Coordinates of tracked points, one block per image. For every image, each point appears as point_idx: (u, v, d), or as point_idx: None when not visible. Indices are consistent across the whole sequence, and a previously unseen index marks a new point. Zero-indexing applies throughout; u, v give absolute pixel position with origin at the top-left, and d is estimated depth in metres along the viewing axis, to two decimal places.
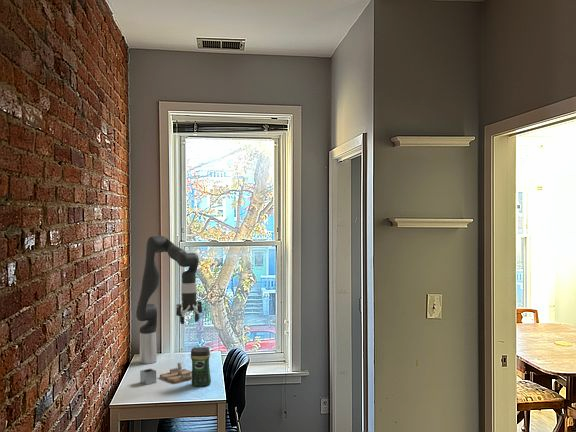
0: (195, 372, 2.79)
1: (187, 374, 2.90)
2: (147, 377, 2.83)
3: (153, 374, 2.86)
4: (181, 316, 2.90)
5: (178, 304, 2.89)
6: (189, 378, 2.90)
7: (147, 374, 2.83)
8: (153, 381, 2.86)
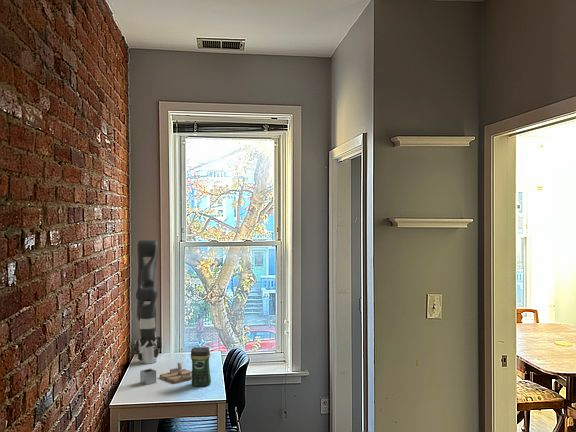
0: (195, 372, 2.79)
1: (187, 374, 2.90)
2: (147, 377, 2.83)
3: (153, 374, 2.86)
4: (139, 352, 2.83)
5: (136, 340, 2.82)
6: (189, 378, 2.90)
7: (147, 374, 2.83)
8: (153, 381, 2.86)
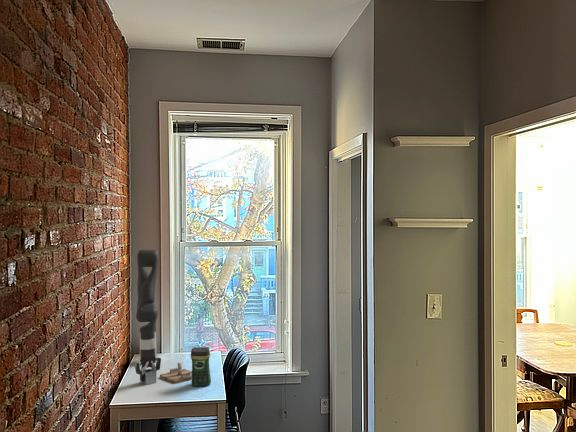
0: (195, 372, 2.79)
1: (187, 374, 2.90)
2: (147, 377, 2.83)
3: (153, 374, 2.86)
4: (141, 374, 2.84)
5: (136, 363, 2.82)
6: (189, 378, 2.90)
7: (147, 374, 2.83)
8: (153, 381, 2.86)
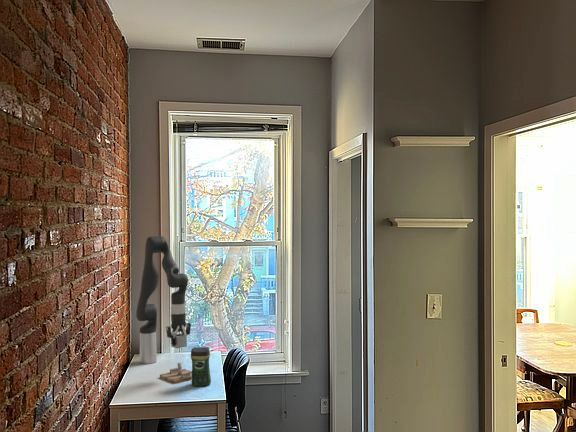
0: (195, 372, 2.79)
1: (187, 374, 2.90)
2: (178, 341, 2.91)
3: (184, 338, 2.93)
4: (172, 338, 2.91)
5: (167, 326, 2.90)
6: (189, 378, 2.90)
7: (178, 338, 2.91)
8: (184, 345, 2.93)
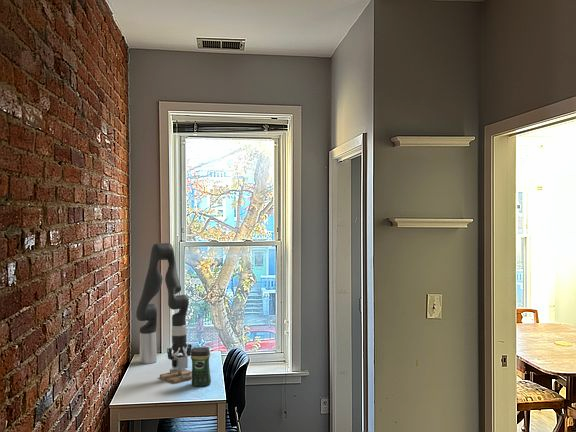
0: (195, 372, 2.79)
1: (187, 374, 2.90)
2: (179, 362, 2.91)
3: (184, 360, 2.94)
4: (173, 359, 2.92)
5: (168, 348, 2.90)
6: (189, 378, 2.90)
7: (179, 360, 2.91)
8: (184, 366, 2.94)
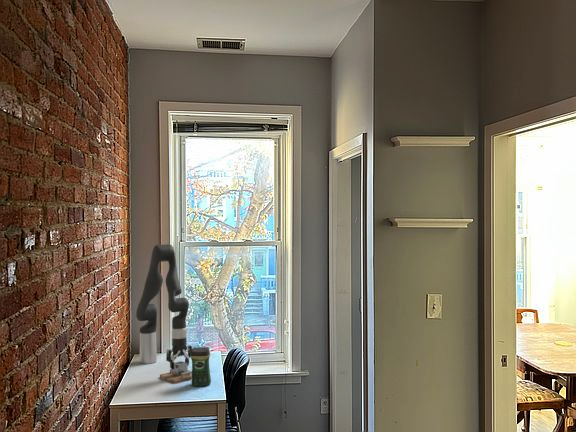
0: (195, 372, 2.79)
1: (187, 374, 2.90)
2: (179, 369, 2.91)
3: (185, 366, 2.94)
4: (171, 361, 2.91)
5: (168, 350, 2.90)
6: (189, 378, 2.90)
7: (179, 366, 2.91)
8: None
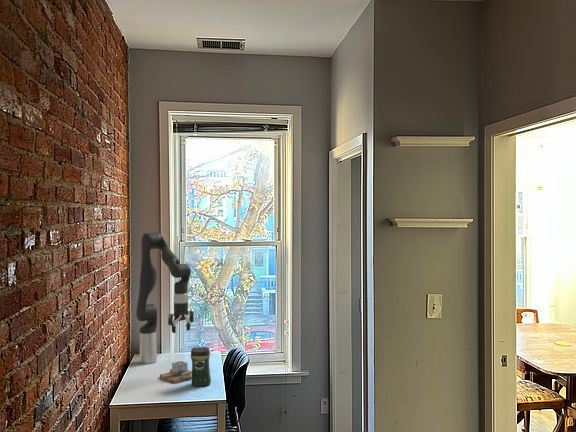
0: (195, 372, 2.79)
1: (187, 374, 2.90)
2: (179, 369, 2.91)
3: (185, 366, 2.94)
4: (173, 325, 2.98)
5: (170, 314, 2.98)
6: (189, 378, 2.90)
7: (179, 366, 2.91)
8: None
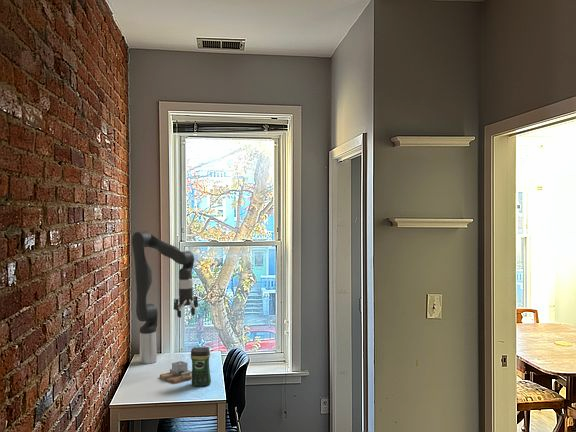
0: (195, 372, 2.79)
1: (187, 374, 2.90)
2: (179, 369, 2.91)
3: (185, 366, 2.94)
4: (178, 310, 3.11)
5: (175, 299, 3.11)
6: (189, 378, 2.90)
7: (179, 366, 2.91)
8: None
